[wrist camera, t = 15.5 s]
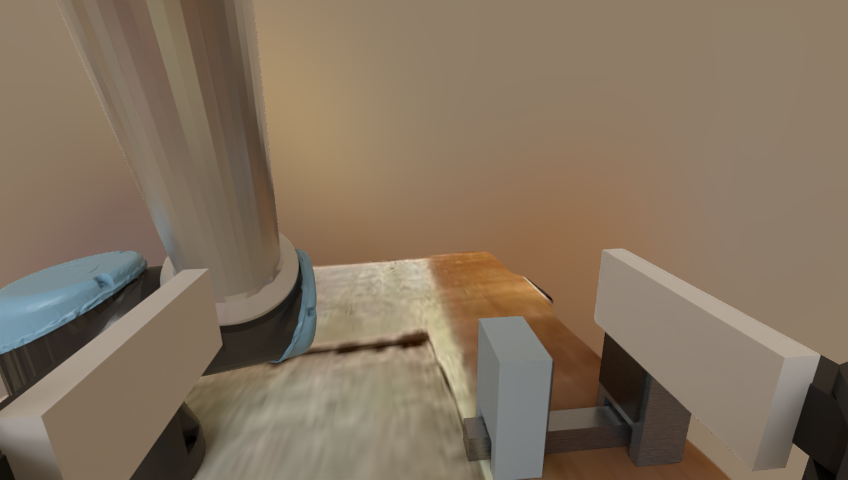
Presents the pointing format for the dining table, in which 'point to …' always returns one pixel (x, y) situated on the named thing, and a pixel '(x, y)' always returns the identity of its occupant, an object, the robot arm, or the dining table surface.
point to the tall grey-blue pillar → (514, 395)
